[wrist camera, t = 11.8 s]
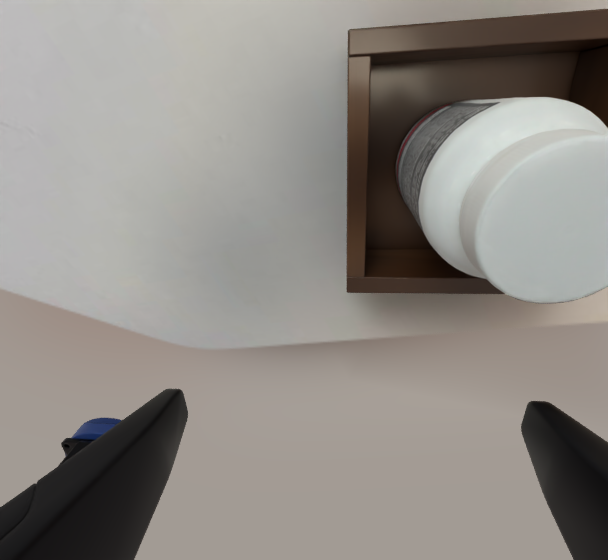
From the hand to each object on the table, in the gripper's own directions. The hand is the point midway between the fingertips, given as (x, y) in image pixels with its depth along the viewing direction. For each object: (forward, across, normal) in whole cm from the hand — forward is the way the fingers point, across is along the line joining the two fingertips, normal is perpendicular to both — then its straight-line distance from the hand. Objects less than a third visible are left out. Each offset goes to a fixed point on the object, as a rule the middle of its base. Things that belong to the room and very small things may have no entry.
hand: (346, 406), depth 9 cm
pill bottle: (+11, -5, -5) cm, 13 cm away
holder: (+12, -5, -5) cm, 13 cm away
